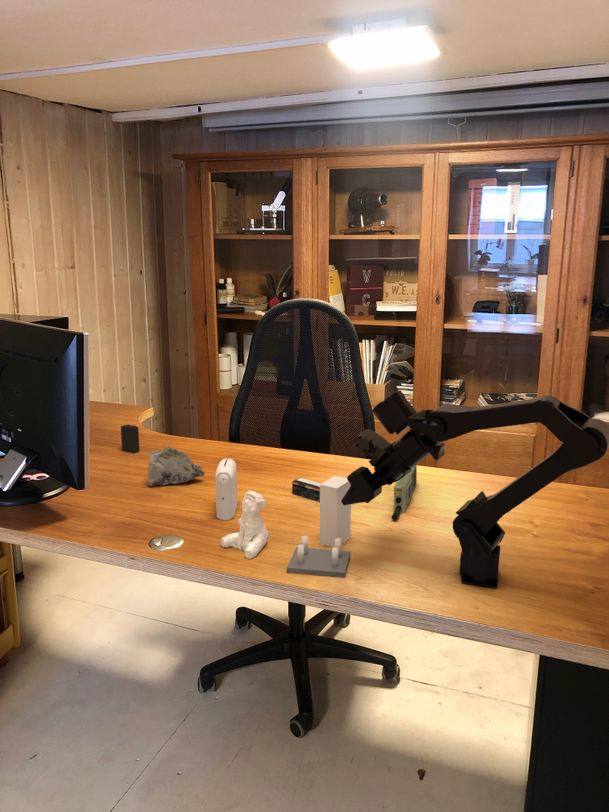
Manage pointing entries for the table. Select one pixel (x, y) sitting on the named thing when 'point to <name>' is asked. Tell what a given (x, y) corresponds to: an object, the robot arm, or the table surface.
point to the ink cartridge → (130, 438)
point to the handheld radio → (404, 492)
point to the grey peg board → (319, 560)
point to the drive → (334, 511)
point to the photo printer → (226, 489)
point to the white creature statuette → (249, 527)
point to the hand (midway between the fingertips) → (353, 495)
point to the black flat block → (306, 489)
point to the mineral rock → (171, 467)
